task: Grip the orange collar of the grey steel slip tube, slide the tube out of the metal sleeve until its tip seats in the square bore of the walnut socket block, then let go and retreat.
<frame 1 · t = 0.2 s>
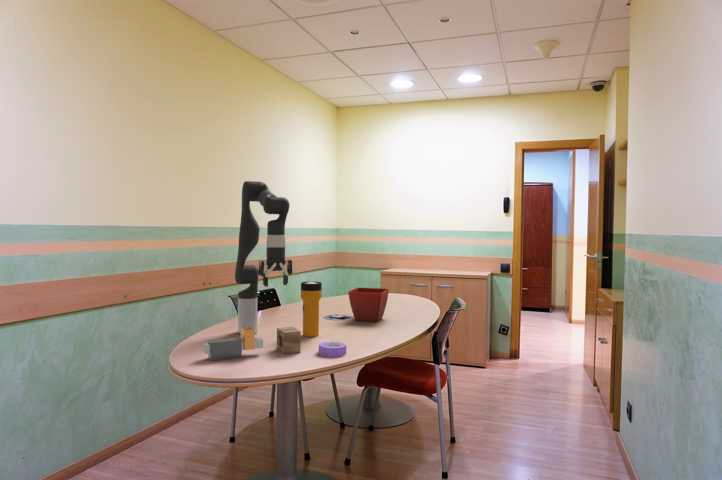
hand: (275, 285, 203), 28 cm above the table, fingers open, 8 cm apart
socket block: (288, 350, 211), on the table
plant pot: (368, 319, 282), on the table
slip tube: (233, 339, 200), point 7 cm above the table, slide at 0.0 cm
sleeve: (225, 357, 198), on the table
masking tape: (332, 354, 208), on the table
flashlight: (310, 335, 240), on the table
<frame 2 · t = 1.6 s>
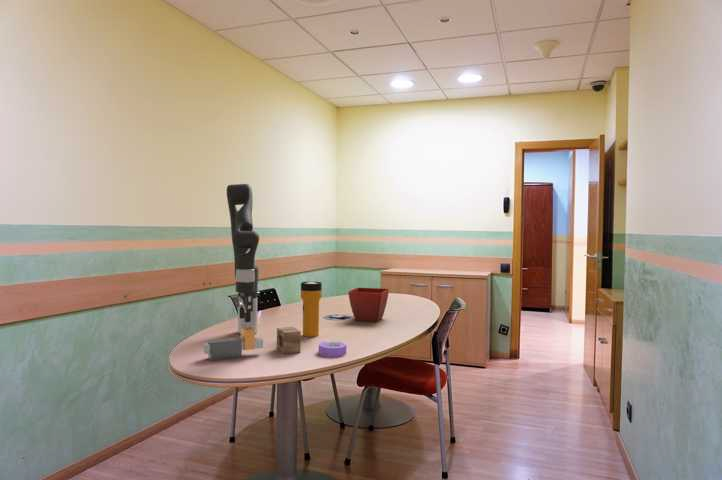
hand: (244, 320, 201), 14 cm above the table, fingers open, 8 cm apart
nothing on the table moved.
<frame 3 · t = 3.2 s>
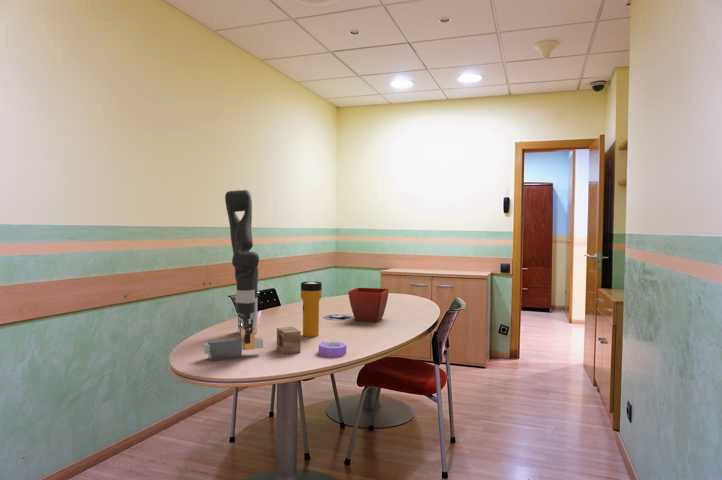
hand: (245, 341, 202), 6 cm above the table, fingers closed on slip tube, 6 cm apart
slip tube: (233, 339, 200), point 7 cm above the table, slide at 0.0 cm, touching gripper
everything else where it was.
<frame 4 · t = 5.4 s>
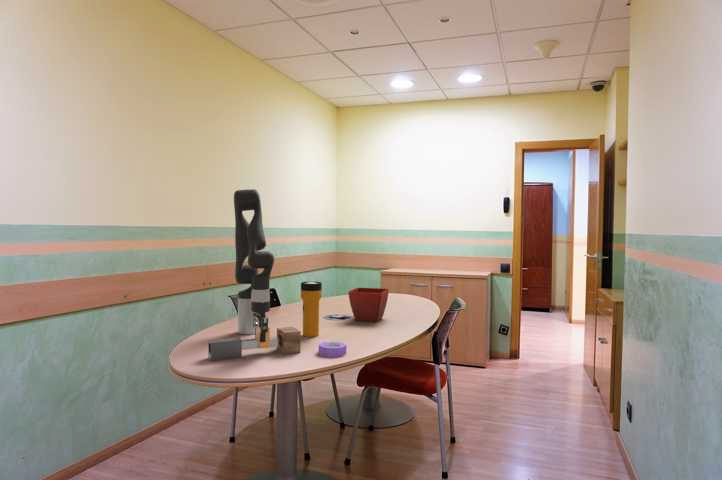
hand: (260, 340, 205), 6 cm above the table, fingers closed on slip tube, 6 cm apart
slip tube: (249, 338, 203), point 7 cm above the table, slide at 6.3 cm, touching gripper
everything else where it was.
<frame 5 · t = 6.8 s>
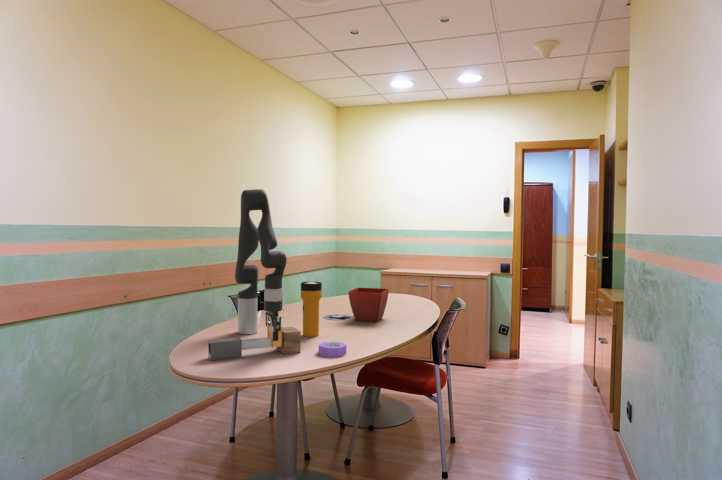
hand: (272, 338, 207), 6 cm above the table, fingers closed on slip tube, 6 cm apart
slip tube: (262, 337, 205), point 7 cm above the table, slide at 11.7 cm, touching gripper
everything else where it was.
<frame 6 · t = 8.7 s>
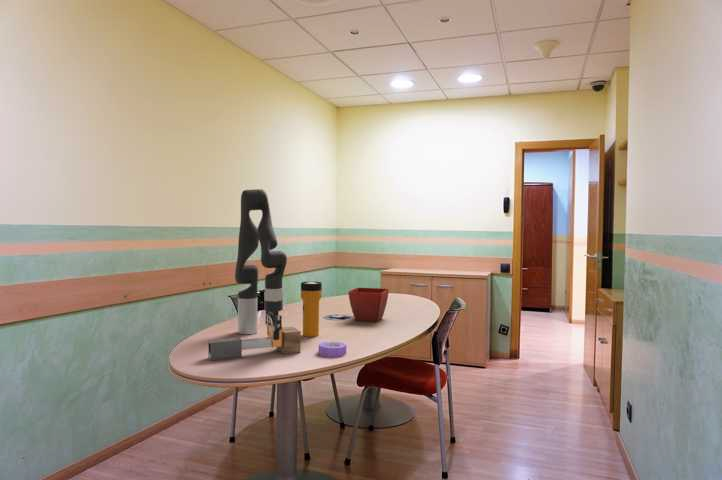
hand: (273, 337, 207), 6 cm above the table, fingers open, 8 cm apart
slip tube: (262, 336, 205), point 7 cm above the table, slide at 11.7 cm
everything else where it was.
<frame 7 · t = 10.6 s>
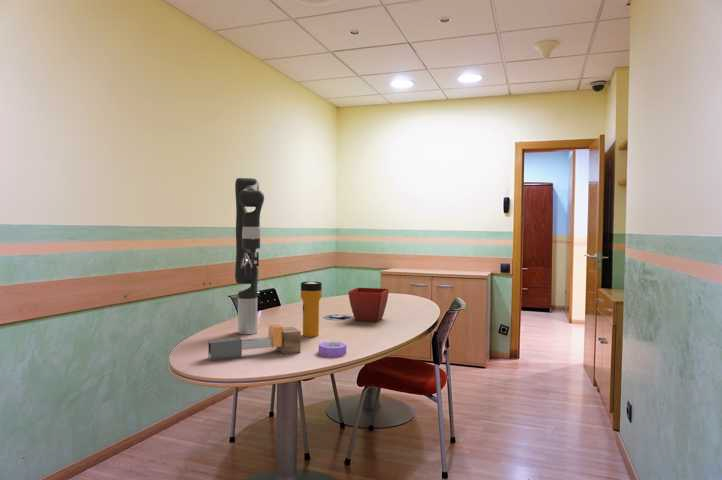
hand: (250, 275, 212), 32 cm above the table, fingers open, 8 cm apart
nothing on the table moved.
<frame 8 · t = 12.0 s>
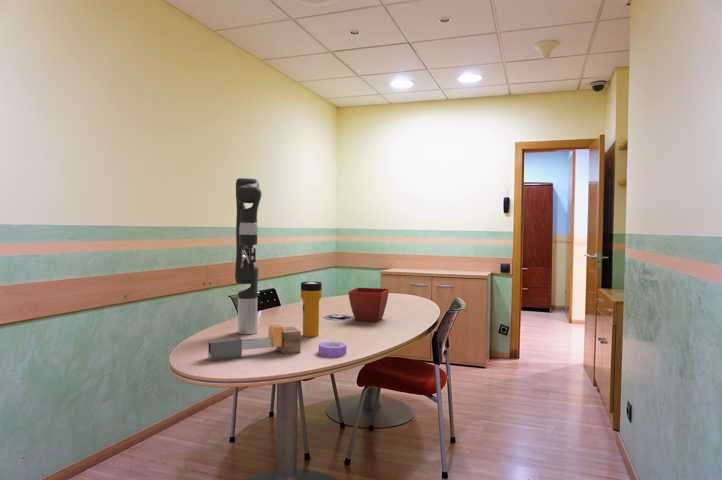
hand: (248, 271, 212), 33 cm above the table, fingers open, 8 cm apart
nothing on the table moved.
at the end: slip tube slide at 11.7 cm; the gripper is holding nothing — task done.
